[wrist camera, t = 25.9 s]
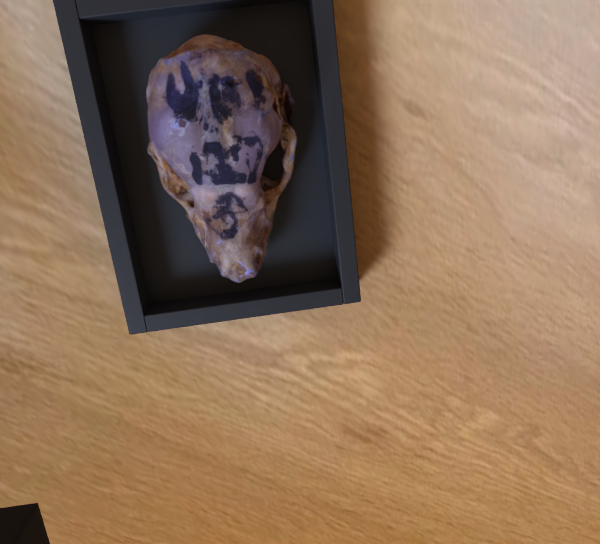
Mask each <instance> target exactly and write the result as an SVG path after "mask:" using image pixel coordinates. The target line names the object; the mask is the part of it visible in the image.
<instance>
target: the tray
mask: <svg viewBox="0 0 600 544" xmlns="http://www.w3.org/2000/svg"><path fill="white" fill-rule="evenodd" d="M53 3H54V7H55V11H56V16H57V20H58V24H59V29H60V33H61V37H62V42H63V46H64V51H65V55H66V59H67V64H68V68H69V72H70V77H71V81H72V85H73V90H74V94H75V99H76V103H77V107H78V112H79V116H80V120H81V125H82V129H83V133H84V138H85V142H86V147H87V151H88V155H89V160H90V164H91V168H92V173H93V177H94V181H95V186H96V190H97V195H98V199H99V203H100V208H101V212H102V216H103V221H104V225H105V229H106V234H107V238H108V243H109V247H110V251H111V256H112V260H113V264H114V269H115V273H116V278H117V282H118V286H119V291H120V295H121V299H122V304H123V308H124V312H125V317H126V321H127V326H128V330H129V334H137V333H144V332H147V331H148V332H151V331H158V330H165V329H172V328H179V327H186V326H193V325H200V324H207V323H214V322H221V321H229V320H236V319H243V318H250V317H257V316H264V315H271V314H278V313H285V312H292V311H299V310H306V309H313V308H320V307H327V306H334V305H342V304H343V303H344V304H348V303H355V302H360V301H361V297H360V286H359V275H358V265H357V254H356V243H355V233H354V222H353V211H352V201H351V190H350V179H349V169H348V158H347V148H346V137H345V126H344V116H343V105H342V94H341V84H340V73H339V62H338V52H337V41H336V30H335V20H334V9H333V0H53ZM204 34H208V35H214V36H218V37H221V38H224V39H226V40H230V41H233V42H236V43H239V44H241V45H242V46H243V48H247V49H248V50H251V51H253V52H255V53H256V54H261V55H264V56H265V57H266V58H268V59H269V60H270V61H271V62H272V64H273V65H274V67H275V68H276V70H277V71H278V73H279V75H280V79H281V83H284V84H287V85H288V87H289V90H290V93H291V96H292V98H293V99H294V101H295V107H294V117H293V119H292V122H291V125H292V126H293V127H294V129H295V132H296V136H297V145H296V149H295V161H294V168H293V173H292V176H291V179H290V181H289V182H288V184H287V186H286V188H285V189H284V191H283V192H282V193H281V195H280V196H279V198H278V203H277V208H276V210H275V213H274V224H273V228H272V230H271V232H270V235H269V238H268V246H267V255H266V257H264V260H263V263H262V267H261V269H260V270H259V271H258V274H257V275H256V276H255V277H254V278H249V279H246V280H244V281H243V282H241V283H237V282H234V281H232V280H230V279H229V278H226V277H224V276H222V275H221V273H220V271H219V269H218V267H217V265H216V264H215V263H211V262H210V259H209V257H208V254H207V251H206V249H205V247H204V246H203V244H202V243H201V241H200V239H199V238H198V236H197V235H196V233H195V229H194V226H193V224H192V222H191V221H190V220H189V219H188V217H187V216H186V214H187V212H186V210H185V209H184V207H183V206H182V205H181V204H180V203H179V202H178V201H176V200H175V199H174V198H173V197H171V196H170V195H169V194H168V193H167V191H166V190H165V189H164V188H163V186H162V184H161V180H160V175H159V172H158V169H157V165H156V162H155V161H154V159H153V158H152V156H151V155H150V154H148V151H147V148H148V145H149V140H150V139H149V132H148V130H149V128H148V103H147V98H146V91H147V86H148V81H149V75H150V72H151V70H152V69H153V68H154V67H155V66H156V64H157V62H158V60H159V59H161V58H163V57H165V56H168V55H169V54H170V53H171V52H173V51H175V50H177V49H178V48H179V47H180V46H181V45H183V44H184V43H185V42H186V41H188V40H189V39H191V38H193V37H195V36H199V35H204ZM284 154H285V153H284V151H283V150H282V147H281V144H280V143H278V145H277V146H276V148H275V149H274V150H273V151H272V152H271V154H270V155H269V156H268V158H267V160H266V162H265V165H264V170H263V172H262V175H263V176H265V177H266V178H269V179H271V180H280V179H281V177H282V174H283V172H284V167H283V165H282V158H283V155H284Z"/></svg>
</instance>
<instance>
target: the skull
mask: <svg viewBox="0 0 600 544" xmlns="http://www.w3.org/2000/svg"><path fill="white" fill-rule="evenodd" d="M146 98H147V103H148V128H149V130H148V132H149V139H150V140H149V145H148V148H147V151H148V154H150V155H151V156H152V158H153V159H154V161H155V162H156V165H157V169H158V172H159V175H160V180H161V184H162V186H163V188H164V189H165V190H166V191H167V193H168V194H169V195H170V196H171V197H173V198H174V199H175V200H176V201H178V202H179V203H180V204H181V205H182V206H183V207H184V209H185V210H186V212H187V214H186V216H187V217H188V219H189V220H190V221H191V222H192V224H193V226H194V229H195V233H196V235H197V236H198V238H199V239H200V241H201V243H202V244H203V246H204V247H205V249H206V251H207V254H208V257H209V259H210V262H211V263H215V264H216V265H217V267H218V269H219V271H220V273H221V275H222V276H224V277H226V278H229V279H230V280H232V281H234V282H237V283H241V282H243V281H244V280H246V279H249V278H254V277H255V276H256V275H257V274H258V271H259V270H260V269H261V267H262V263H263V260H264V257H266V255H267V246H268V238H269V235H270V232H271V230H272V228H273V224H274V213H275V210H276V208H277V203H278V198H279V196H280V195H281V193H282V192H283V191H284V189H285V188H286V186H287V184H288V182H289V181H290V179H291V176H292V173H293V168H294V161H295V149H296V145H297V136H296V132H295V129H294V127H293V126H292V125H291V122H292V119H293V117H294V107H295V101H294V99H293V98H292V96H291V93H290V90H289V87H288V85H287V84H284V83H281V79H280V75H279V73H278V71H277V70H276V68H275V67H274V65H273V64H272V62H271V61H270V60H269V59H268V58H266V57H265V56H264V55H261V54H256V53H255V52H253V51H251V50H248V49H247V48H243V46H242V45H241V44H239V43H236V42H233V41H230V40H226V39H224V38H221V37H218V36H214V35H208V34H204V35H199V36H195V37H193V38H191V39H189V40H188V41H186V42H185V43H184V44H183V45H181V46H180V47H179V48H178V49H177V50H175V51H173V52H171V53H170V54H169V55H168V56H165V57H163V58H161V59H159V60H158V62H157V64H156V66H155V67H154V68H153V69H152V70H151V72H150V75H149V81H148V86H147V91H146ZM278 143H280V144H281V147H282V150H283V151H284V153H285V154H284V155H283V158H282V165H283V167H284V172H283V174H282V177H281V179H280V180H271V179H269V178H266V177H265V176H263V175H262V172H263V170H264V165H265V162H266V160H267V158H268V156H269V155H270V154H271V152H272V151H273V150H274V149H275V148H276V146H277V145H278Z"/></svg>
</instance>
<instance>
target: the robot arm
mask: <svg viewBox="0 0 600 544" xmlns="http://www.w3.org/2000/svg"><path fill="white" fill-rule="evenodd" d="M0 544H50V543H49V539H48V536H47V532H46V529H45V526H44V522H43V519H42V516H41V512H40V509H39V506H38V503H34V504H27V505H20V506H13V507H6V508H0Z"/></svg>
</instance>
